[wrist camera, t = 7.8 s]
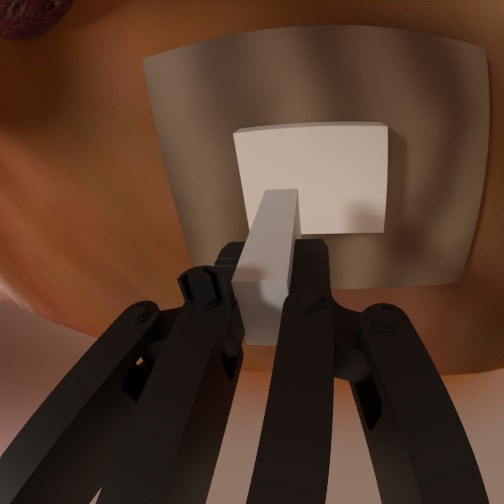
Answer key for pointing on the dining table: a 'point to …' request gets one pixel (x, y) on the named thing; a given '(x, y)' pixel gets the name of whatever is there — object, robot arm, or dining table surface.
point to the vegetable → (29, 17)
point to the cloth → (333, 110)
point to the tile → (319, 172)
